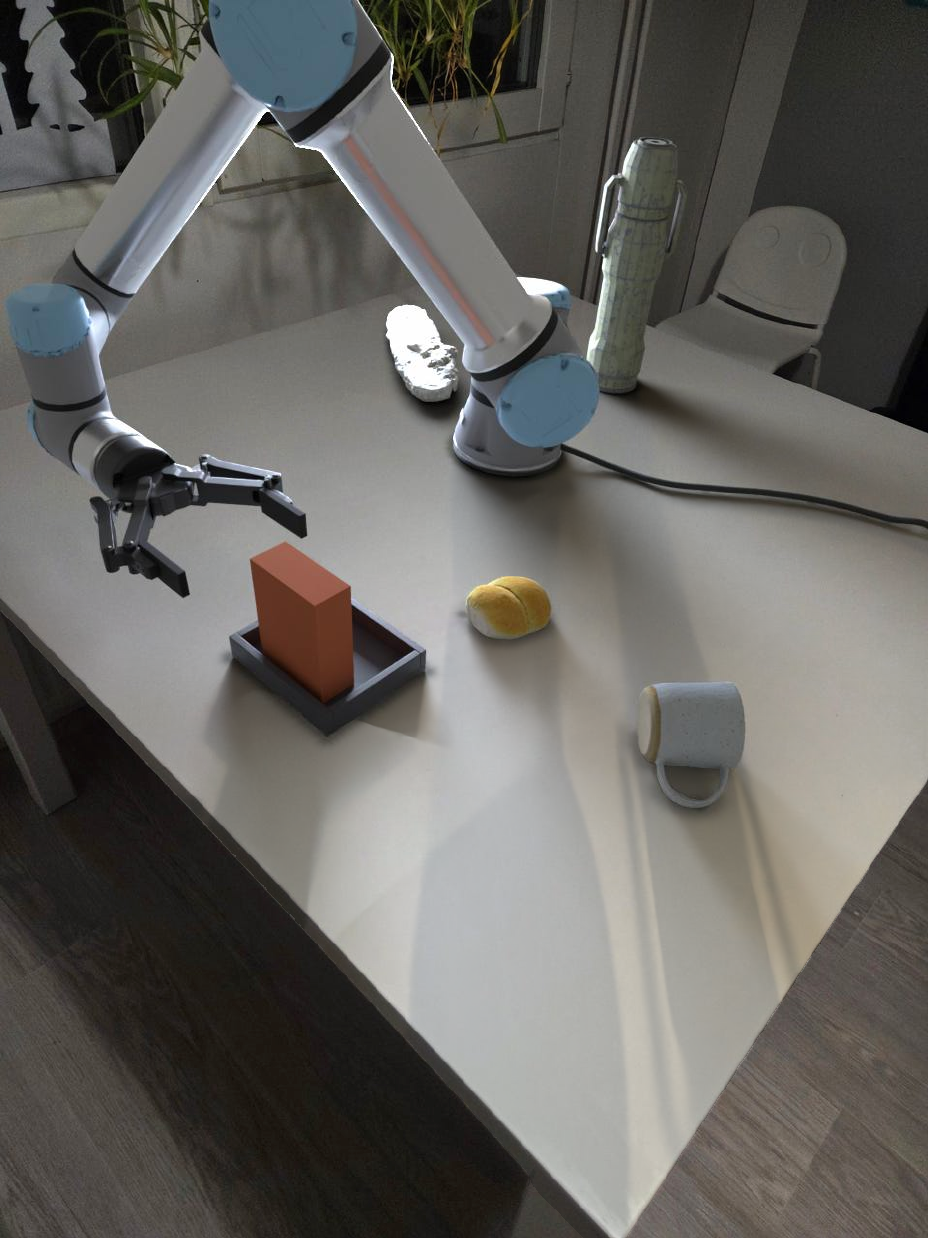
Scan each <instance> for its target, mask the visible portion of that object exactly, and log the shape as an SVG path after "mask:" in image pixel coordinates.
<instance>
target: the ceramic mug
mask: <svg viewBox="0 0 928 1238" xmlns="http://www.w3.org/2000/svg"><path fill="white" fill-rule="evenodd" d="M744 707H745V706H744V703H743V698H742V695H741V692H740V691H739V689H738V687H737V686H736V684H735V683H734V682H731V681H711V682H710V681H702V682H701V681H700V682H699V681H698V682H697V681H696V682H693V681H691V682H659V683H656V684H650V685H648V686H646V687H645V688H643V689H642V691H641V692H640V694H639V697H638V702H637V708H636V736H637V737H636V738H637V743H638V748H639V751H640V754H641V755H642V758H644V759H645V760H646V761H647V762H650V763H654V764H655V765H656V777H657V780H658V783H659V786H660V788H661V791H663V793H664V795H665V796H666V797H667V798H668V799H669V800H671V802H674V803H675V804H677V805H679V806H682V807H684V808H685V807H686V808H691V809H701V808H704V807H707V806H709V805H711V804H713V803H714V802H716V801H717V800H718V799H719V798H720V797H721V796H722V794H723V793H724V791H725V789H726V786H727V782H728V779H729V778H728V777H729V771H730V770H733V769H735V768H736V767H737V766H738V765H739V763H740V761H741V759H742V757H743V752H744V749H745V741H746V715H745V708H744ZM665 766H670V767H671V766H672V767H691V768H692V767H693V768H702V769H713V770H714V769H715V770H719V772H720V773H719V780H718V781H719V782H718V785H717V788H716V790H715V792H714V793H712V794H711V795H710V796H709V797H708V798H706V799H695V798H690V797H688V796H686V795H685V794H683V793H679V792H678V791H677V790H674V789H673V787H671V784H670V783H669V781H668V780H667V775H666V771H665Z"/></svg>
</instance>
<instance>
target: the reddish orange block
mask: <svg viewBox="0 0 928 1238" xmlns="http://www.w3.org/2000/svg"><path fill="white" fill-rule="evenodd" d="M249 564H250V571H251V578H252V586H253V593H254V600H255V607H256V608H255V609H256V615H257V621H258V623H259V630H260V638H261V645H262V653H263V655H264V656H265V657H266V658H267V659H268V660H270V661H271V662H272V663H273V664H275V665H276V666H277V667H278V668H279V669H281V670H282V671H283V672H284V673H286V674H287V675H288V676H289V677H290V678H292V679H293V680H294V681H295V682H297V683H298V684H299V685H300V686H301V687H303V688H304V689H305V690H306V691H308V692H309V693H310V694H311V695H313V696H314V697H315V698H316V699H317V700H319V701H320V702H321V703H322V704H324V703H325V702H327V701H328V700H330V699H331V698H333V697H335V696H336V695H338V694H339V693H341V692H342V691H344V690H345V689H347V688H348V687H350V686H351V685H353V684H354V661H353V634H352V607H351V597H352V586H351V585H350V584H348V582H345V580H343V579H341V578H340V577H338V576H337V575H335V574H334V573H333V572H331V571H329V570H328V569H326V567H324V566H322V565H321V564H319V562H316V561H315V560H314V559H313V558H311V557H309V556H308V555H306V554H305V553H303V552H302V551H301V550H299V549H298V548H296V547H295V546H293V545H292V544H290V543H289V542H288V541H286V540H285V541H283V542H281V543H279V544H277V545H275V546H273V547H271V548H268V549H267V550H264V551H262V552H261V553H258V554H257V555H255V556H253V557H250V558H249Z"/></svg>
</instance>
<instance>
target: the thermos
mask: <svg viewBox="0 0 928 1238" xmlns="http://www.w3.org/2000/svg"><path fill="white" fill-rule="evenodd" d="M678 156H679V155H678V147H677V145H676V144H674V142H673V141H672V140H670V139H666V138H661V137H654V136H643V137H642V136H641V137H638V139H635V140H633V141H632V143H631V145H630V148H629V150H628V152H627V154H626V157H625V159H624V160H623V166H622V172H618V173H617V174H612V175H611V176H610V177H609V179H608V180H607V181H606V182H605V184H604V186H603V192H602V199H601V205H600V210H599V218H598V223H597V230H596V237H595V250H594V251H595V252H596V254H600V255H601V256H602V257H603V258H602V265H601V269H602V275H603V279H602V285H601V291H600V297H599V301H598V308H597V313H596V320H595V324H594V325H595V326H594V329H593V331H592V333H591V335H590V337H589V341H588V346H587V353H586V359H587V360H588V361H589V362H590V364H591V365H592V366H593V368H594V369H595V372H596V375H597V381H598V385H599V392H603V393H609V394H624V393H630V392H631V391H634V389H635V388H636V387H637V381H638V377H639V373H640V372H641V369H642V365H643V359H644V355H645V350H646V345H645V333H646V329H647V324H648V321H649V320H648V319H649V316H650V315H649V314H650V309H651V304H652V300H653V296H654V290H655V285H656V282H657V281H658V279H659V278H660V276H661V273H662V269H663V268H662V267H663V263H665V261H666V260H669V259H670V258H671V257H673V256H674V255H675V254H676V251H677V247H678V243H679V236H680V232H681V228H682V223H683V219H684V215H685V212H686V211H685V210H686V207H687V201H688V197H689V192H688V191H687V188H686V186H685V184H684V182H683V180H681V179H680V180H679V179H678V178H677V176H678V172H679V157H678ZM615 185H618V186H619V189H618V195H617V201H618V202H617V204H618V205H617V208H616V209H615V214H614V218H613V220H612V222H611V224H610V226H609V228H608V230H607V231H608V232H607V236H606V240H605V235H606V234H605V233H606V227H607V222H608V216H609V209H610V204H611V198H612V191H613V189H614V187H615ZM676 189H678V196H677V200H676V205H675V210H674V215H673V219H672V224H671V229H670V232H669V233H670V234H669V238H668V226H667V224H668V221H669V215H668V212H669V208H670V207H671V205H672V200H673V197H674V191H676ZM604 240H605V241H604Z"/></svg>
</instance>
